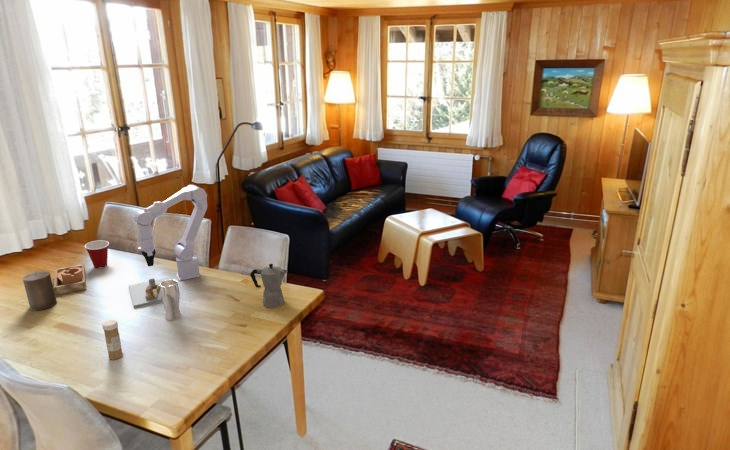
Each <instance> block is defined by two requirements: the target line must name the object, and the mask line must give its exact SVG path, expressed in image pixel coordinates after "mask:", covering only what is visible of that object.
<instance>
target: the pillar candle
mask: <svg viewBox="0 0 730 450" xmlns="http://www.w3.org/2000/svg"><path fill="white" fill-rule="evenodd" d="M22 281H23V284H24V285H23V286H24V289H25V294H26V297H27V301H28V304H29V309H30V310H32V311H43V310H46V309H50V308H52V307H54V306H56V305H57V303H58V301H57V295H55V292H54V283H53V280H52V277H51V273H50V272H49V271H47V270H40V271H34V272H31V273H28V274H26V275H24V276H23V277H22Z"/></svg>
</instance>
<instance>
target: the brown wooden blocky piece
mask: <svg viewBox="0 0 730 450" xmlns="http://www.w3.org/2000/svg"><path fill="white" fill-rule="evenodd" d="M155 289H157V292H159V289H160V284H156V288H155ZM153 290H154V289H152V286H151V285H148V286H147V288H146V290H145V291H146V293H147V294H146V296H145V297H146V299H151V298H154V296H153Z"/></svg>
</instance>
